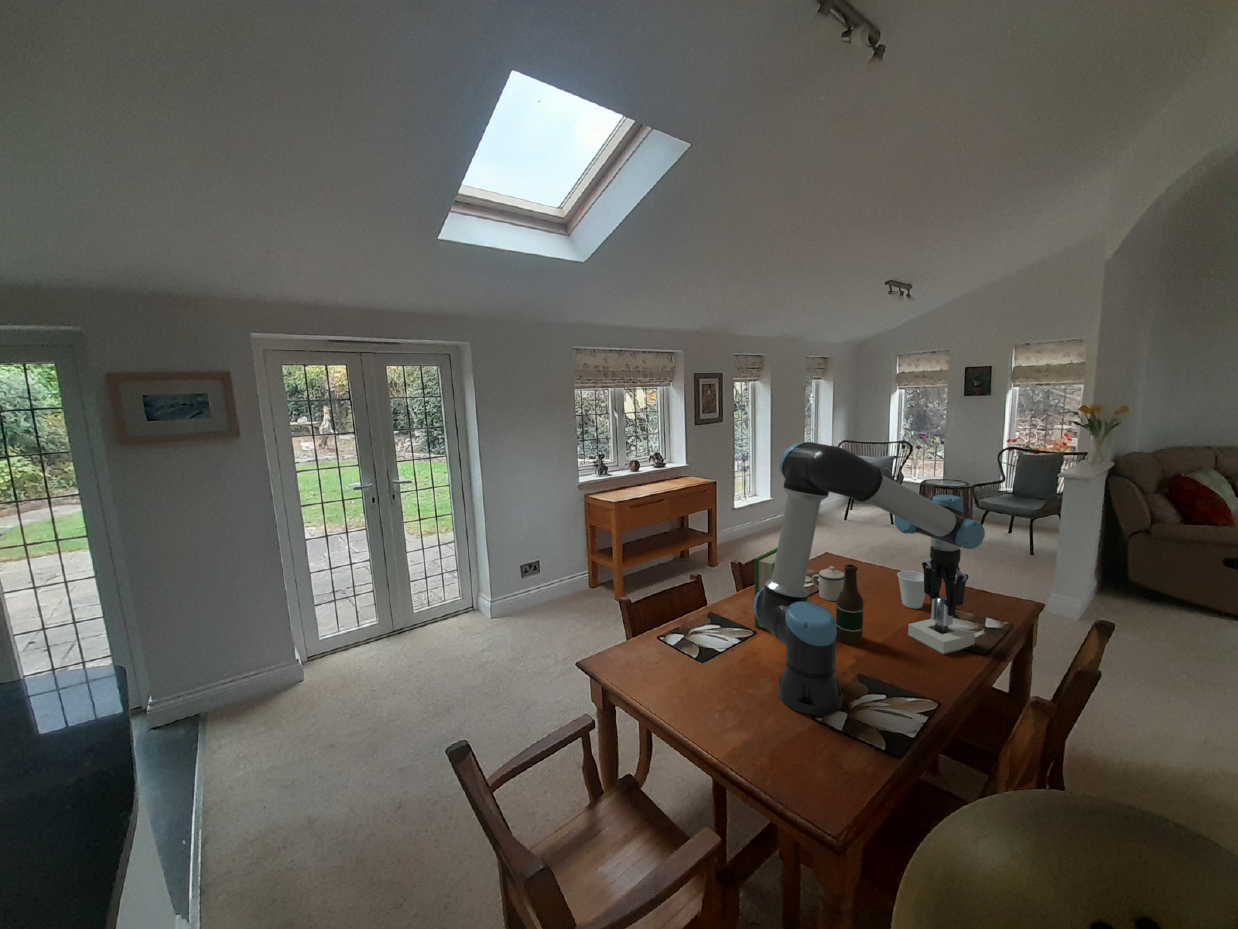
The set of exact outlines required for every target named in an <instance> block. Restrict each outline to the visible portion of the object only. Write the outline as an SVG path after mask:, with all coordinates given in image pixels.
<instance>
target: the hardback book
mask: <svg viewBox="0 0 1238 929" xmlns="http://www.w3.org/2000/svg"><path fill="white" fill-rule="evenodd" d="M777 549H778V546H777V547H776V548H773V549H771V550H769V551H767V552H765V553H763V554H760V555H759V556H757V557H755V558H754V566H753V567H754V597H755V596H756V594H757V593H758V592H760V591H761V589H762V588H763V587H764V586H765V582H766V581H767V580H769V579H771V578H772V575H773V569H774V564H775V559H776V554H777ZM754 628H755V629H759V628H763V629H765V628H764V627H763V625H762V624H761V623H760V622H759V620H758V619H757V617H756V616H755V615H754Z"/></svg>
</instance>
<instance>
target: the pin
mask: <svg viewBox="0 0 1238 929" xmlns="http://www.w3.org/2000/svg"><path fill="white" fill-rule="evenodd" d="M946 603H947V599H946V595H941V596H937V597H936V612H935V631H936V632H938V633H940V634H946V633H948V625H947V626H945V625H943V620H944V604H946Z"/></svg>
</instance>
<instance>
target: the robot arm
mask: <svg viewBox="0 0 1238 929" xmlns="http://www.w3.org/2000/svg"><path fill="white" fill-rule="evenodd" d="M779 469H780V473H781V474H782V476H783V477H784V482H783V487H782V488H783V490H784V491H785V493H786V494H787V496H786V497H787V498H786V502H785V507H784V513H783V518H782V523H781V528H780V534H779V539H778V544H777V547H778V549H777V554H776V559H775V564H774V569H773V575H772V578H771V579H769V580H767V581H766V582H765V586H764V587H763V588H762V589H761V591H760V592H758V593H757V594H756V596H755V595H754V599H753V613H754V617H755V616H756V617H757V619H758V620H759V622H760V623H761V624H762V625H763V627H764V628H763V627H762V628H763V629H765V630H767V631H768V632H770V633H771V634H772V635H773V636H774V637H775V639H778V640H779V642H780V643H782V644H783V645H784V646H785V649H786V650H785V668H784V671H783V673H782V677H781V678H780V680H779V682H778V696H779V698H780V699H781V701H782V702H783V703H784V704H785V705H786V706H787V707H788V708H790V709H792V710H794V711H796V712H798V713H801V714H804V715H808V716H813V717H815V716H817V717H822V716H825V717H826V716H830V715H833V714H836V713H837V712H839V711H840V710H841V708H842V707H843V693H842V692H843V691H842V690H841V687H840V683H839V680H838V678H837V675H836V654H837V653H836V651H837V650H836V649H837V646H836V645H837V638H836V635H837V631H836V617H834V614H833V613H832V612H831V611H830V610H829V609H827V608H826V607H825V606H823V605H820V604H815V603H814V602H811V601H808V597H809V591H808V590H807V588H806V587H805V583H806V578H807V572H808V567H809V563H810V562H809V561H810V557H811V552H812V548H813V542H814V537H815V531H816V528H817V521H818V517H819V512H820V509H821V508H820V506H821V503H822V501H824V500H825V499H826V498H828V497H829V493H832V494H837V495H839V496H844V497H847V498H849V499H852V500H854V501H857V502H859V503H865V502H867V503H869V504H871V505H873V506H875V507H877V508H879V509H882V510H883V511H885V512H888V513H890V514H891V515H893V516H894V520H893V521H894V524H895V527H896V528H897V530H898V531H899V532H900V533H902V534H905V535H906V534H911V535H913V534H921V535H924V536H927V537H930V545H931V546H930V549H929V550H930V551H929V558H930V560H928V561H923V562H921V566H922V570H923V574H924V593H925V595H928V596H929V598H930V599H929V607H930V608H931V613H930V614H931V616H930V619H932V620H935V612H936V597H937V596H942V595H940V593H941V592H940V591H941V587H942V583H944V587H945V588H944V589H945V597H946V599H947V603H946V604H944V620H943V625H945V626H947V625H952V624H954V623H953V622H954V621H953V620H954V616H956V607H959V606H962V605H964V599H965V592H966V591H965V590H966V583H967V581H968V579H969V575H968V574H966V573H965V574H964V572H962V571H961V569H960V567H959V565H960V562H961V553H962V552H961V549H962V548H963V549H967V550H972V549H976V548H978V547H979V546H981V545H982V543H983V541H984V539H985V536H986V530H985V528H984V525H983V524H982V523H981V522H978V521H976V520H973V519H971V518H966V517H964V502H963V499H962V497H960V496H957V495H952V494H936V495H934V496H933V497H932V500H931V499H929V498H927V497H926V496H923V495H921V494H919V493H917V492H916V491H914V490H912V489H910V488H908V487H906V486H904V485H902V484H901V483H899V482H897V481H895V480H893V479H891V478H890V477H888V476H886V475H884V473H883V471H882V469H880V468H879V467H878V466H875V465H874V464H872V463H871V462H868V460H865V459H863V458H861V457H860V456H859V455H856V454H854V453H852V452H851V451H850V450H847V449H845V448H842V447H839V446H836V445H828V444H823V443H818V442H817V443H816V442H812V441H811V442H810V441H801V442H796V443H793V444H792V445H790V446H789V447H788V448H786V450H785V451H784V452H783V454H782V455H781V457H780V461H779Z"/></svg>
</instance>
